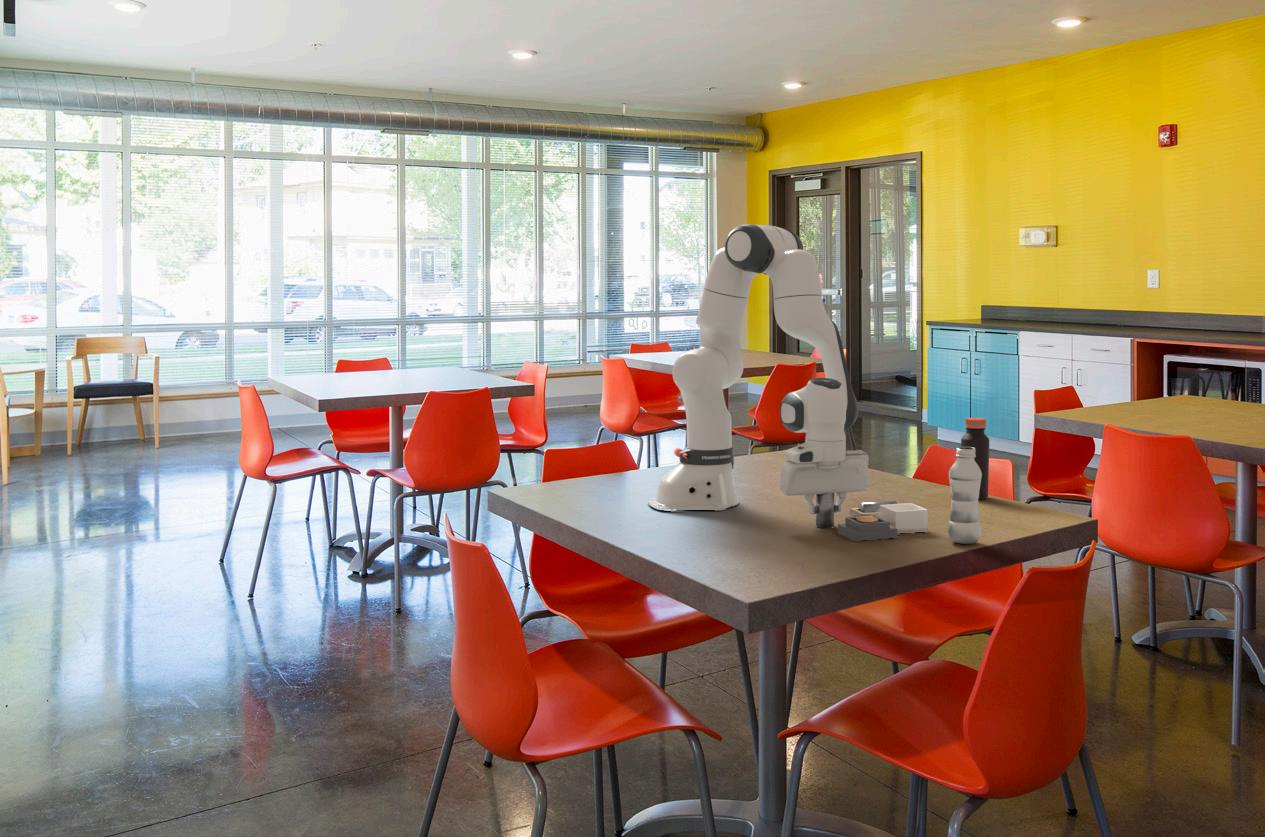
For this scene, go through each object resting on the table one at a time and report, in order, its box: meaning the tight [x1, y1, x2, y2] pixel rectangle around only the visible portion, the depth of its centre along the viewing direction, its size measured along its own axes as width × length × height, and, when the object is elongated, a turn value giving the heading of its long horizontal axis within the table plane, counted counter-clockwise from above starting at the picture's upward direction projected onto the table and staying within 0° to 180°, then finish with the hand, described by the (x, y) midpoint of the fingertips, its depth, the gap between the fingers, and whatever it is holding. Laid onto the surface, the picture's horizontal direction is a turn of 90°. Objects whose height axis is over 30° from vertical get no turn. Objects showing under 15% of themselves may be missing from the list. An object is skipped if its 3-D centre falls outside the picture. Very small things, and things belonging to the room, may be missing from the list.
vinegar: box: [960, 417, 990, 500], centre depth 266 cm, size 7×7×20 cm
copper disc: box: [856, 516, 878, 523], centre depth 228 cm, size 5×5×1 cm
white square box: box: [880, 502, 929, 535], centre depth 233 cm, size 8×8×5 cm
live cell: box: [857, 500, 898, 513], centre depth 240 cm, size 9×4×4 cm, turn 103°
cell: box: [815, 492, 835, 529], centre depth 237 cm, size 4×4×9 cm
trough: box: [849, 507, 880, 517], centre depth 240 cm, size 11×6×3 cm, turn 103°
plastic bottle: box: [947, 446, 982, 545], centre depth 219 cm, size 6×7×20 cm
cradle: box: [837, 516, 898, 542], centre depth 228 cm, size 10×8×4 cm
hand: (824, 512), depth 237 cm, fingers closed on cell, 4 cm apart
